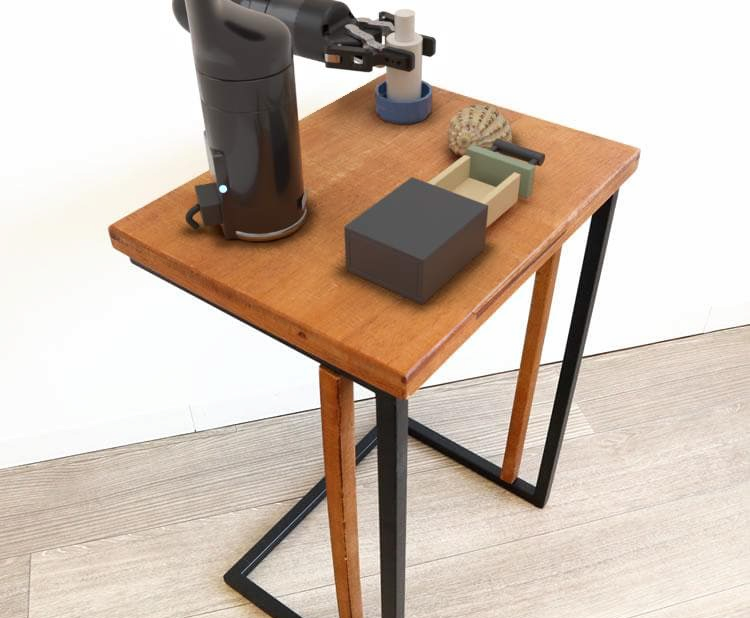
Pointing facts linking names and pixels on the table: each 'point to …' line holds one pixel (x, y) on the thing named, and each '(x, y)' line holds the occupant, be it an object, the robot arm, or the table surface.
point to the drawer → (492, 176)
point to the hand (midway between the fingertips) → (423, 54)
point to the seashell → (477, 128)
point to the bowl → (403, 106)
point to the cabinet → (415, 239)
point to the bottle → (405, 38)
